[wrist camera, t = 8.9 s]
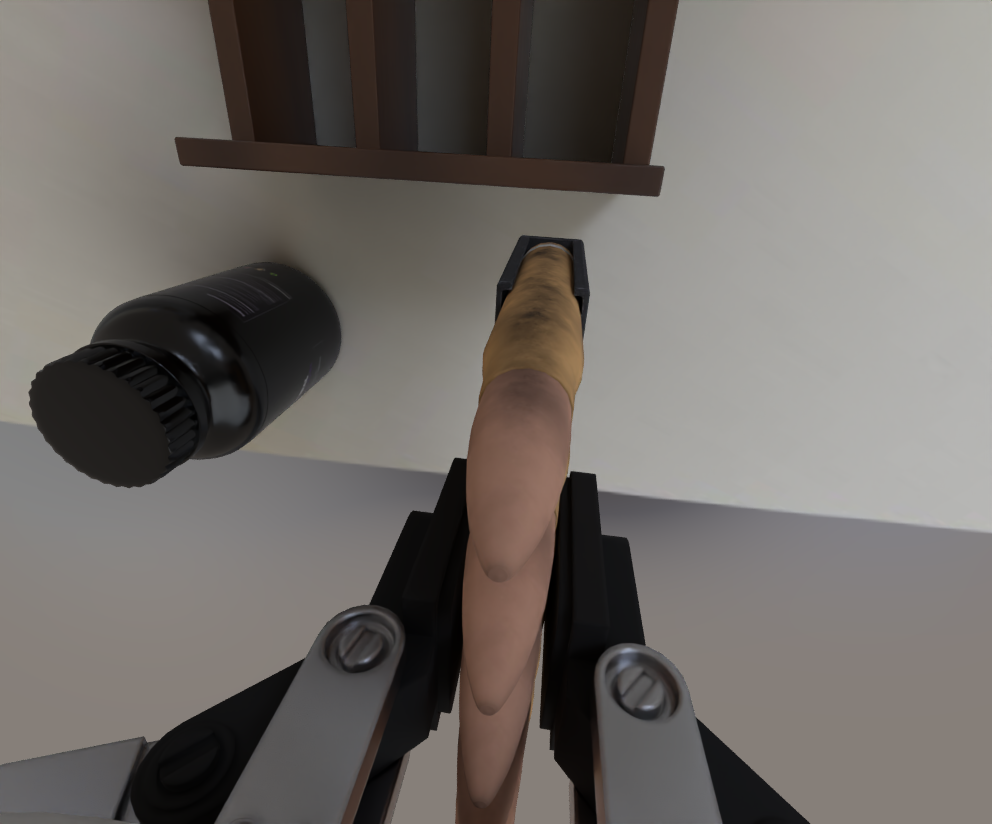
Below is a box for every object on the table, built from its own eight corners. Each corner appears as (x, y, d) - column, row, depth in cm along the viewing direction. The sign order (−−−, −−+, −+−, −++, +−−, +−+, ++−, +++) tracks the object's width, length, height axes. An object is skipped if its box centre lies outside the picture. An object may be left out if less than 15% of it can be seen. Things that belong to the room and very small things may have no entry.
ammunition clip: (545, 527, 19) (519, 998, 8) (498, 522, 19) (413, 975, 8) (584, 239, 14) (641, 493, 3) (519, 234, 14) (375, 461, 3)
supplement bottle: (344, 392, 28) (208, 534, 17) (230, 367, 28) (27, 491, 17) (348, 273, 25) (184, 357, 14) (219, 245, 25) (-39, 307, 14)
